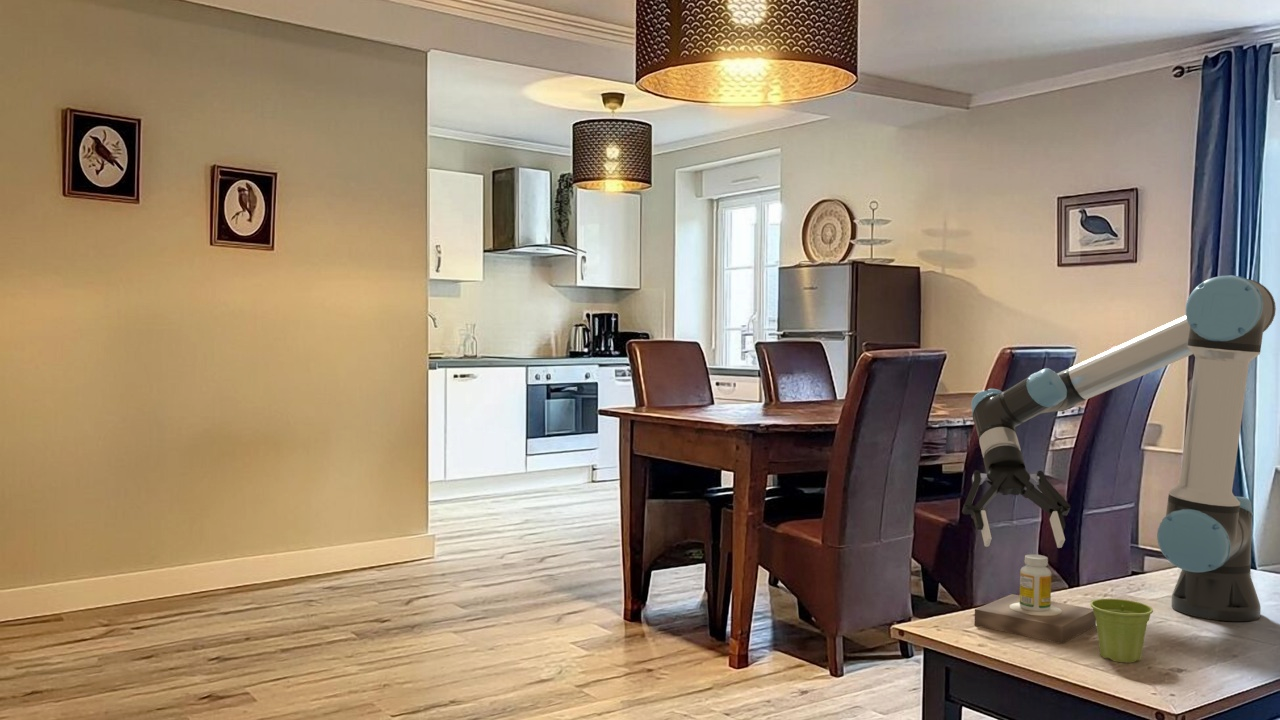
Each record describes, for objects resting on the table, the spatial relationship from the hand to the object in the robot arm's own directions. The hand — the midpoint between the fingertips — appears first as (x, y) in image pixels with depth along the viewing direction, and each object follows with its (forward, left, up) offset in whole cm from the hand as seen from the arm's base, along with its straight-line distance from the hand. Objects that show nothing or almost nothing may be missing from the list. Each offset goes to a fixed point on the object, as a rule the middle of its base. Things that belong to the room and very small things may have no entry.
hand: (1024, 543), depth 194 cm
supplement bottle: (-4, +4, -11) cm, 12 cm away
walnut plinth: (-4, +4, -14) cm, 15 cm away
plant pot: (-22, +13, -14) cm, 29 cm away
